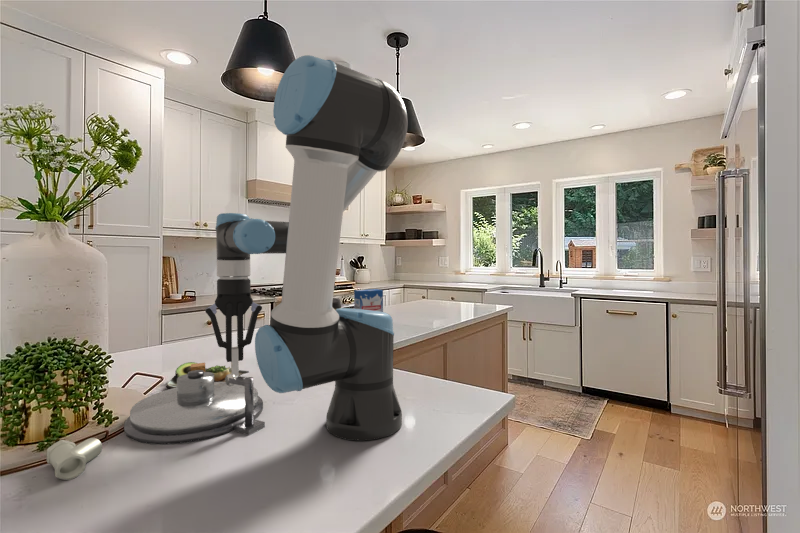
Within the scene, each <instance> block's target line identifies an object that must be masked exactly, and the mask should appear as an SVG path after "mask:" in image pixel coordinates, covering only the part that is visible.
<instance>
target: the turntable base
mask: <svg viewBox="0 0 800 533" xmlns="http://www.w3.org/2000/svg"><path fill="white" fill-rule="evenodd" d="M263 409H264V402H263V399H262V398H261V397H260V396H259V395H258V405H257V407H256V408H255V409H254V419H255V420H257V418H258V417H259V416H260V415H261V414H262V412H263V411H264V410H263ZM243 421H245V416H244V417H243V418H241V419H239V420H236V421H234V422H231V423H228V424H226V425H223V426H219V427H216V428H212V429H208V430H203V431H198V432H191V433H183V434H170V435H161V434H149V433H144V432H140V431H138V430H136V429H134V428H133V427H132V426H131V424H130V415H129V416H128V417H126V420H125V421H124V423H123V431H124V435H125V436H126V437H127V438H129V439H130V440H131V441H134V442H138V443H142V444H148V445H149V444H150V445H175V444H185V443H192V442H198V441H202V440H207V439H211V438H215V437H218V436H222V435H225V434H228V433H231V432H235V431H234V426H235V425H237V424H239V423H241V422H243Z"/></svg>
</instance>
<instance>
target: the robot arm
mask: <svg viewBox="0 0 800 533" xmlns="http://www.w3.org/2000/svg"><path fill="white" fill-rule="evenodd" d="M273 102H274V103H273V108H272V109H273V110H272V112H273V113H272V114H273V116H272V117H273V118H274V124H275V125H274V126H275V128H276V129H277V130H278V131H279V132H281V133H282V134H283V135H285V136H286V137H285V148H286V150H287V151H288V153H289V155H291V156H292V158H293V160H294V161H293V169H292V170H293V172H292V180H291V181H292V182H291V192H290V202H289V205H290V206H289V215H288V221H277V220H276V221H275V220H265V219H262V218H261V219H260V218H250V217H249V215H247V214H245V213H238V212H237V213H236V212H235V213H234V212H227V213H226V212H225V213H223V212H221V213H220V214H217V216H216V222H215V227H214V228H215V229H214V230H215V234H216V237H215V238H216V276H217V278H218V279H217V280H216V298H215V300H214V303H213V304H211V305H210V306H208V307H207V306H206V308H205V313H206V314H207V317H209V319H210V322H211V325H212V328H213V332H214V337H215V340H216V343H217V346H218V347H219V348H224V349H225V359H226V363H230V365H231V366H230V368H231V373H233V374H235V376H238V375H239V370H240V369H239V362H240V361H244V347H245V346H249V345H251V343H252V341H253V336H254V331H255V329H256V324H257V320H258V317H259V314H260V313H261V311H262V309H263V307H262V306H261V304H257V303H256V302H255V301H254V300H253V299H254V298H252V296H251V294H252V292H251V291H252V290H251V279H250V278H249V277H250V276H251V255H261V254H263V255H264V254H285V258H284V270H283V281H282V282H283V283H282V293H281V302H280V303H279V304H278V305H276V306H274V308H273V309H271V312H270V321H269V322H270V323H269V325H268V324H265V325H263V326H260V327H259V328H258V330H257V332H256V333H255V337H254V351H255V352H254V353H255V357H256V362H257V366H258V368H259V371H260V374H261V376H262V378H263V380H264V382H265V384H266V385H267V386H268V387H269V389H271V390H272V391H274V392H275V393H279V394H285V393H291V392H301V391H302V390H305V389H308V388H313V387H317V386H321V385H324V384H325V385H326V384H329V383H333V382H335V384H334V389H333V393H332V396H331V400H330V403H329V405H328V406H329V407H328V409H327V412H326V429H327V431H328V432H329V433H330V434H332V435H333V436H335V437H337V438H341V439H344V440H349V441H350V440H351V441H370V440H371V441H372V440H373V441H374V440H377V439H382V438H383V439H384V438H386V437H388V436H391V435H393V434H395V433H396V432H398V431H399V430H400V429H401V427H402V424H403V414H402V408H401V405H400V402H399V399H398V395H397V393H396V389H395V386H394V336H395V332H394V325H393V324H394V322H393V318H392V316H391V315H390V314H389V313H387V312H384V311H383V312H380V311H372V310H363V309H354V308H347V307H346V308H345V307H342V308H339V309H336V310H335V309H334V308H333V307H332V302H333V298H334V292H335V284H336V283H335V282H336V277H337V276H336V274H337V268H338V267H337V266H338V258H339V249H340V242H341V240H340V239H341V234H342V233H341V231H342V223H343V217H344V216H343V214H344V212H345V211H346V209H347V208H349V206H351V204H352V203H353V202H354V200H355V199H356V198H357V196H358V195H359V194H360V193H361V192H362V191H363V189H364V188H366V186H367V185H368V184H369V182H371V180H372V179H373V178H374V176H375V175H376V174H377V173H379V172H385V171H386V170H387V169H388V168H389V167H390V166H391V165H392V163H394V161H395V160H396V158H397V157H398V155H399V154H400V153H401V150H402V148H403V146H404V143H405V140H406V137H407V133H408V126H409V125H408V124H409V123H408V113H407V109H406V105H405V102H404V100H403V99H402V97H401V96H400V94H399V92H398V91H397V90H396V89H395V88H394V87H393V86H392V85H390V84H389V83H388V82H386V81H384V80H382V79H380V78H374V77H372V76H369V75H367V74H364V73H362V72H360V71H357V70H354V69H352V68H349V67H347V66H344V65H341V64H340V63H337V62H335V61H333V60H331V59H325V58H324V59H323V58H320V57H317V56H315V55H310V54H309V55H308V54H307V55H302V56H299V57H297V58H296V59H294V60H293V61H292V62H291V63H290V64H289V66H288V67H287V68H286V69H285V71H284V73H283V75H282V77H281V79H280V80H279V83H278V86H277V89H276V93H275V96H274V100H273ZM249 308H250V310H251V315H250V318H249V322H248V327H247V331H246V335H245V339H244V315H245V314H246V313H247V311H248V310H249ZM217 309H218V310H219V311H220V313H222V315H223V316H225V341H224V339H223V337H222V332H221V330H220V327H219V322H218V318H217V316H216V314H217ZM233 317H236V341H237V342H236V344H237V346H233V345H232V344H233V339H232V338H233V334H232V333H233V332H232V331H233V330H232V329H233V328H232V326H233V324H232V323H233V322H232V321H233V320H232V319H233Z"/></svg>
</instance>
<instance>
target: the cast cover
mask: <svg viewBox="0 0 800 533" xmlns="http://www.w3.org/2000/svg"><path fill="white" fill-rule="evenodd" d="M213 399H214V374H213V373H211V372H204V371H203V370H194V371H190V372H188V374H185V375H182V376H180V377H178V378H177V404H178V405H181V406H196V405H201V404H205V403H208V402H210V401H212V400H213Z"/></svg>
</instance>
